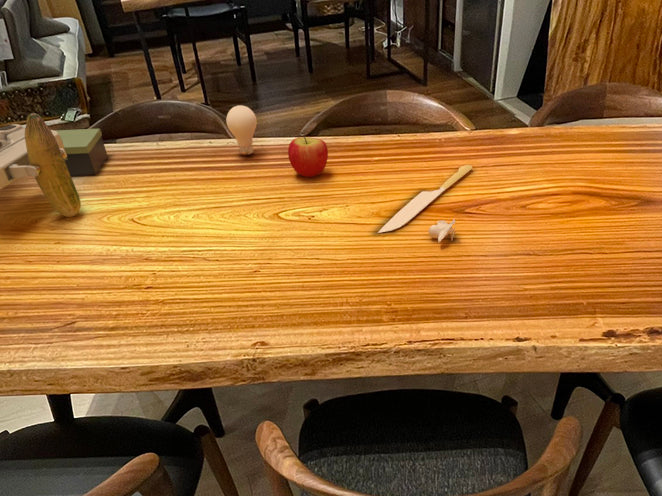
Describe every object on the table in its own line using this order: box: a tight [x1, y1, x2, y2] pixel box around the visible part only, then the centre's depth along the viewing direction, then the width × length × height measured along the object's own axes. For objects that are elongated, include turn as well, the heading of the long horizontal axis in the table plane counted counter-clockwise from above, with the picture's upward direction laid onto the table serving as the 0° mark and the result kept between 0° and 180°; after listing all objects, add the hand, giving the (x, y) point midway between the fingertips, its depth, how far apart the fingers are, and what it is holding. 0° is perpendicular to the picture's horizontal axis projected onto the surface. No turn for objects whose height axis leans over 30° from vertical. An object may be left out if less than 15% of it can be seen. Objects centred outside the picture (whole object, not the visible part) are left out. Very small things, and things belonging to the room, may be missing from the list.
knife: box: [377, 164, 473, 234], centre depth 125 cm, size 1×34×5 cm
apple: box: [287, 129, 329, 178], centre depth 132 cm, size 8×8×10 cm
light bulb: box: [225, 104, 258, 156], centre depth 140 cm, size 7×7×11 cm
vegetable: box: [24, 112, 82, 218], centre depth 117 cm, size 6×6×20 cm
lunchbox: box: [55, 128, 109, 177], centre depth 140 cm, size 12×11×6 cm
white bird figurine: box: [428, 217, 457, 243], centre depth 112 cm, size 8×5×5 cm, turn 177°
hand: (51, 162), depth 117 cm, fingers closed on vegetable, 6 cm apart
